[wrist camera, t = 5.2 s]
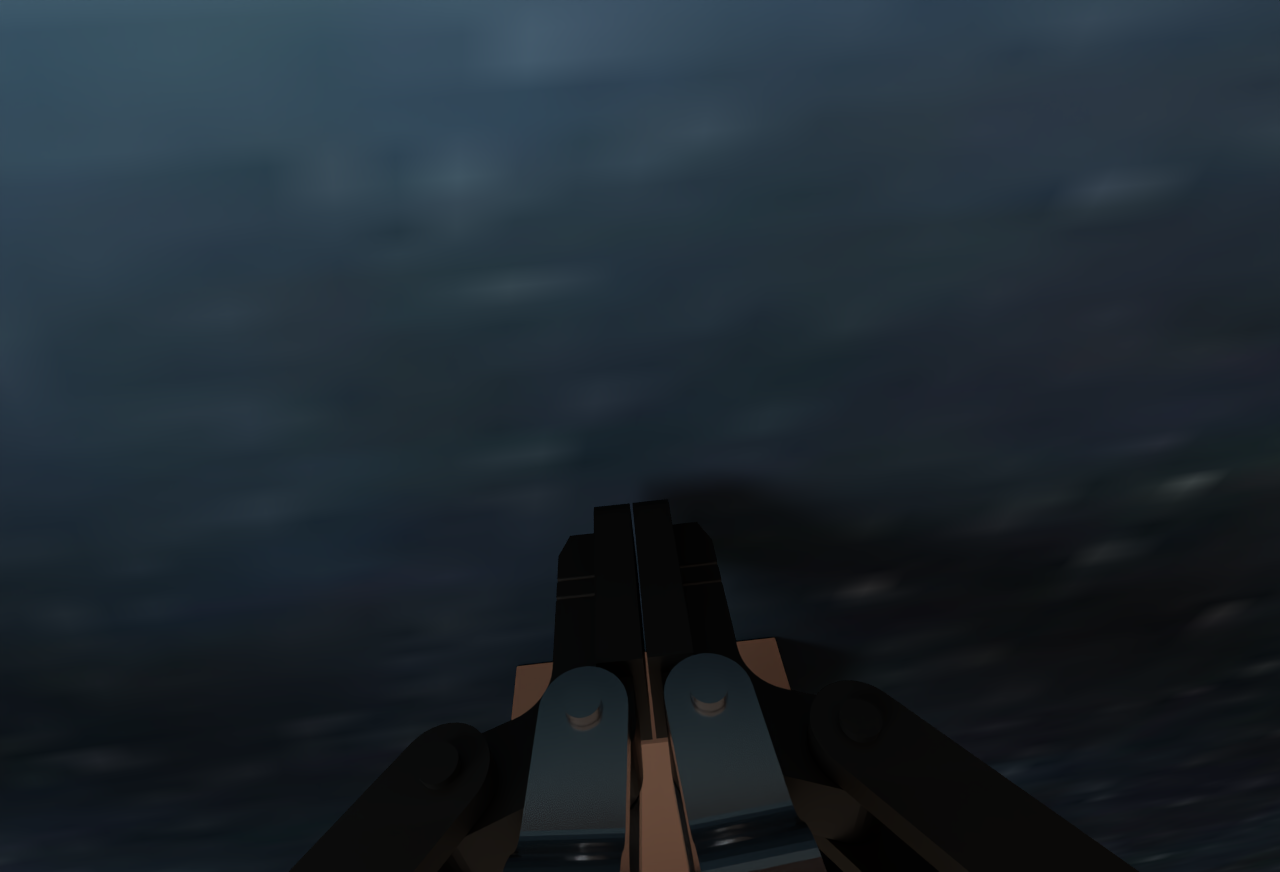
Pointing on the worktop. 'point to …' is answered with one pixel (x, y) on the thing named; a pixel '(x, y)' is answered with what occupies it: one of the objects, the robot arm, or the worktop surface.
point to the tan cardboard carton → (656, 754)
